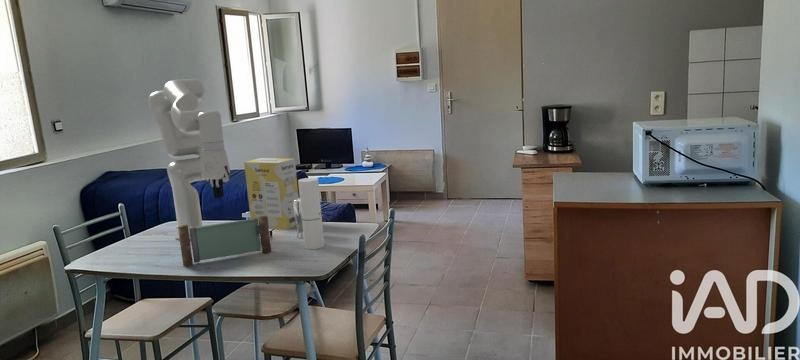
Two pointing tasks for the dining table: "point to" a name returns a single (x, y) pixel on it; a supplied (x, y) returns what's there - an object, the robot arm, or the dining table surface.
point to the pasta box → (272, 190)
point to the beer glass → (298, 217)
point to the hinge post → (185, 245)
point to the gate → (224, 239)
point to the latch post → (264, 234)
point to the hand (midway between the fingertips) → (218, 197)
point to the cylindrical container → (311, 213)
